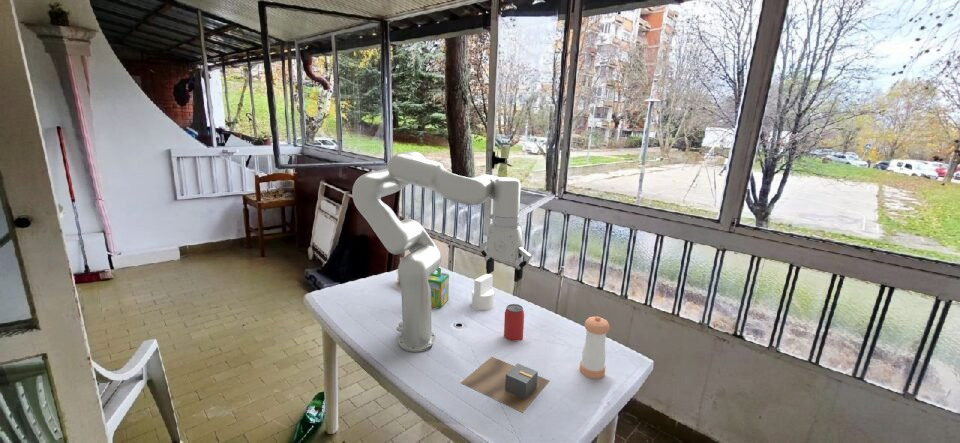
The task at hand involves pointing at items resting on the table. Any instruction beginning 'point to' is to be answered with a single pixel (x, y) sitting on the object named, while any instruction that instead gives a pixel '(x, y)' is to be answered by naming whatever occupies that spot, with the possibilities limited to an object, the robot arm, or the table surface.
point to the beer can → (514, 322)
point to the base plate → (500, 384)
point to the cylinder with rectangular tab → (483, 293)
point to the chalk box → (439, 288)
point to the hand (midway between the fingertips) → (503, 276)
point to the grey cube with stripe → (521, 381)
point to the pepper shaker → (594, 348)
